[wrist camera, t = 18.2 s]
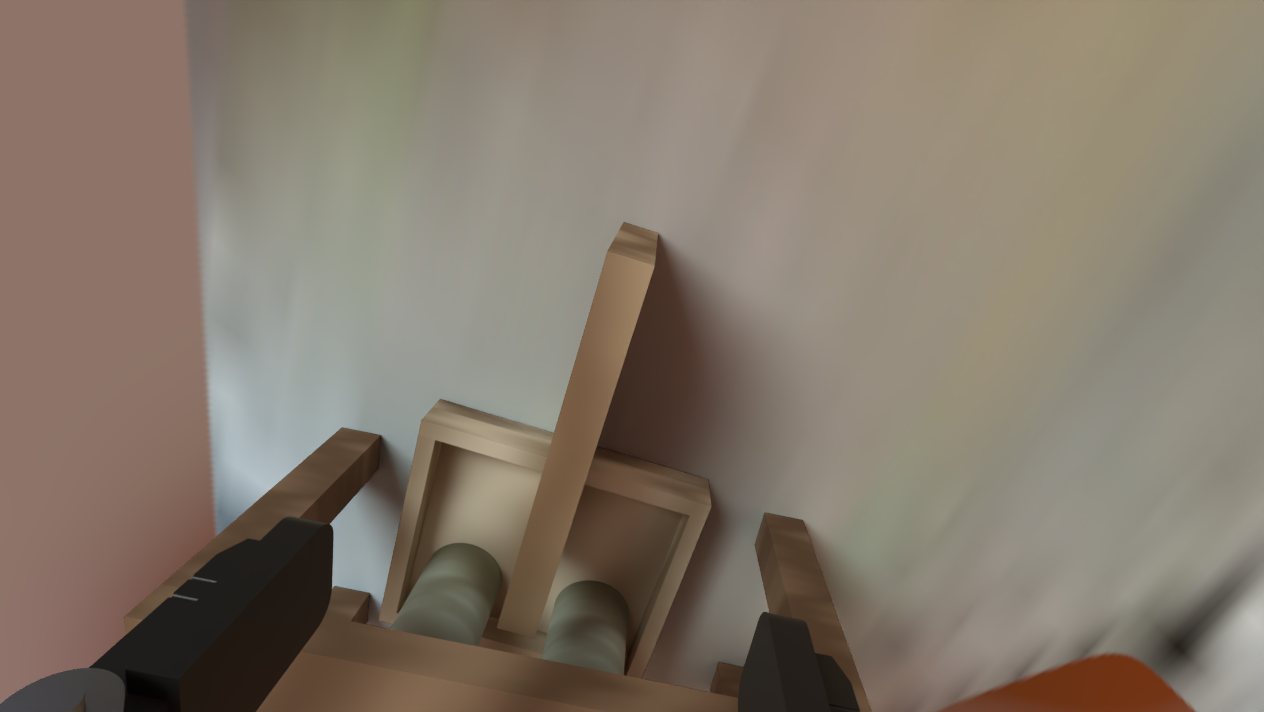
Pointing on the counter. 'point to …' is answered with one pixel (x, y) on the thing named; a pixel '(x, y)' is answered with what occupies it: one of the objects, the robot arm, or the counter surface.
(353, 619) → the wooden rack
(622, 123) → the counter surface
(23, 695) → the robot arm
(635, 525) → the tray
